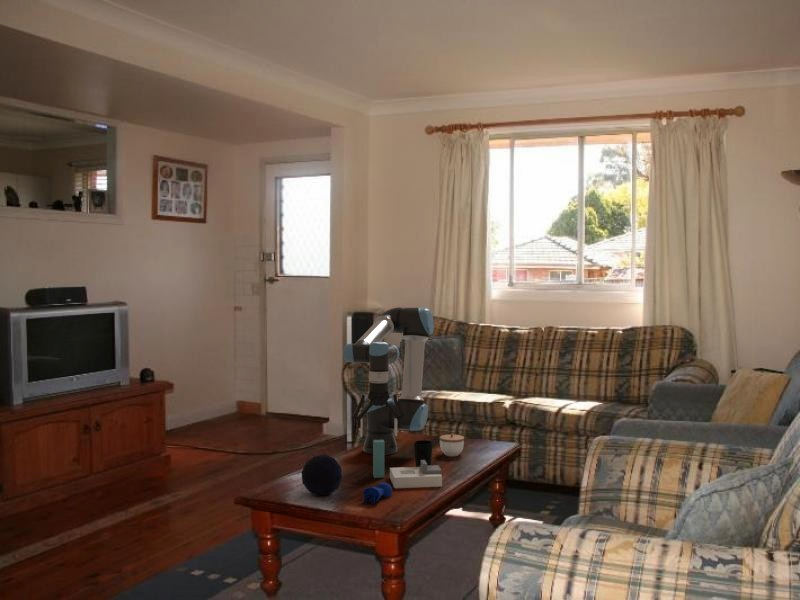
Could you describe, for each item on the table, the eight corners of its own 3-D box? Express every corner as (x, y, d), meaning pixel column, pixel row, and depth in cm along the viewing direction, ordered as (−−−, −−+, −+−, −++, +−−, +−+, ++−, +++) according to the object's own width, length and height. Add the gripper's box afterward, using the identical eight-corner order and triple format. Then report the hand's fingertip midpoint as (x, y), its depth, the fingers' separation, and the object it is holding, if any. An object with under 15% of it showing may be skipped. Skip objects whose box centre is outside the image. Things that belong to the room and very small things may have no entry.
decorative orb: (316, 470, 297) (304, 444, 288) (352, 474, 292) (341, 448, 283) (302, 501, 287) (289, 475, 278) (339, 506, 282) (327, 480, 273)
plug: (373, 475, 311) (373, 440, 310) (383, 474, 311) (383, 439, 311) (374, 477, 307) (374, 442, 306) (384, 477, 307) (384, 442, 307)
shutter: (419, 468, 305) (419, 459, 304) (438, 468, 306) (438, 459, 305) (422, 473, 298) (422, 464, 297) (441, 473, 299) (441, 463, 298)
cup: (431, 475, 311) (431, 445, 310) (412, 473, 313) (412, 444, 312) (434, 469, 319) (434, 440, 318) (415, 468, 320) (415, 439, 319)
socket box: (389, 477, 307) (389, 467, 307) (435, 476, 309) (435, 466, 309) (394, 488, 293) (394, 477, 293) (441, 486, 295) (442, 476, 295)
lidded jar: (463, 458, 338) (463, 436, 337) (438, 457, 339) (438, 435, 339) (464, 452, 348) (465, 431, 348) (440, 451, 350) (440, 430, 349)
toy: (377, 507, 272) (395, 494, 286) (377, 490, 272) (395, 477, 285) (360, 505, 275) (379, 492, 289) (359, 488, 275) (378, 475, 288)
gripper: (347, 383, 302) (347, 438, 303) (411, 382, 305) (411, 437, 306) (346, 380, 309) (346, 434, 310) (409, 380, 313) (408, 433, 313)
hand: (378, 435), depth 308 cm, fingers open, 13 cm apart
